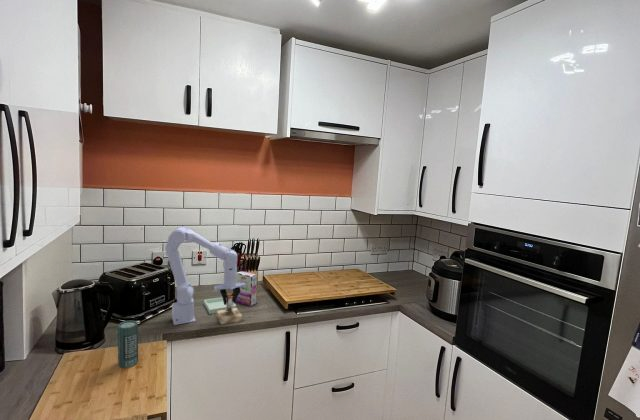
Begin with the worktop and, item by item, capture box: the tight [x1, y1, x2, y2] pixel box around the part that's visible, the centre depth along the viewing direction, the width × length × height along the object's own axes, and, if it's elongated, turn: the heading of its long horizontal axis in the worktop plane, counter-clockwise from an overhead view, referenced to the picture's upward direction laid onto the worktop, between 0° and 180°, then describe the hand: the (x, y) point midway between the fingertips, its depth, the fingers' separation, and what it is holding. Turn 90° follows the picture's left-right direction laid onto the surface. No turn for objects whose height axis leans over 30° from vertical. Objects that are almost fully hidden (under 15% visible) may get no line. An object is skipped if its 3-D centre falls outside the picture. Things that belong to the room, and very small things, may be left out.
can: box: [117, 320, 139, 369], centre depth 124 cm, size 6×6×15 cm
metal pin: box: [226, 292, 234, 312], centre depth 165 cm, size 4×4×8 cm
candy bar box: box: [236, 270, 258, 307], centre depth 184 cm, size 11×5×16 cm, turn 62°
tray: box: [203, 296, 237, 315], centre depth 177 cm, size 13×13×2 cm
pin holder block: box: [215, 307, 243, 325], centre depth 165 cm, size 10×10×2 cm
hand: (229, 303), depth 165 cm, fingers closed on metal pin, 4 cm apart
